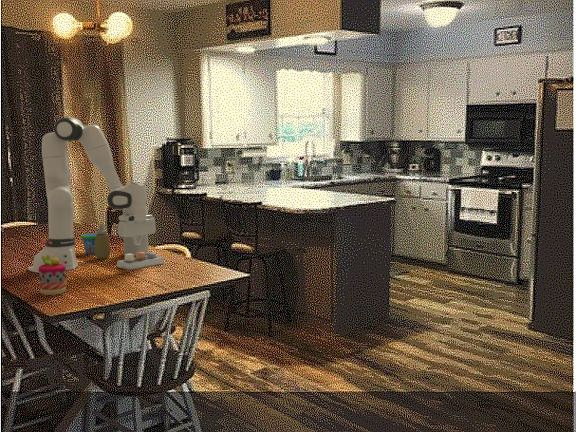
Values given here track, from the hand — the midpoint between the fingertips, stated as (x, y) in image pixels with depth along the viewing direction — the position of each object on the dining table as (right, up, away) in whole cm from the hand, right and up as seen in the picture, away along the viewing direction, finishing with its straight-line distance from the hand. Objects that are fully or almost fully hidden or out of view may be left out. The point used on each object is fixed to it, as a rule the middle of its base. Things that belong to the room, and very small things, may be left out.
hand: (137, 244), depth 306 cm
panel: (+1, -10, +2) cm, 11 cm away
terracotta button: (+1, -7, +2) cm, 7 cm away
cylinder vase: (-8, -7, +30) cm, 32 cm away
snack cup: (-31, -6, +31) cm, 45 cm away
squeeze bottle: (-22, -8, +19) cm, 30 cm away
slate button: (+5, -8, +7) cm, 12 cm away
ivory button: (-3, -8, -3) cm, 9 cm away
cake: (-22, -17, -51) cm, 58 cm away
